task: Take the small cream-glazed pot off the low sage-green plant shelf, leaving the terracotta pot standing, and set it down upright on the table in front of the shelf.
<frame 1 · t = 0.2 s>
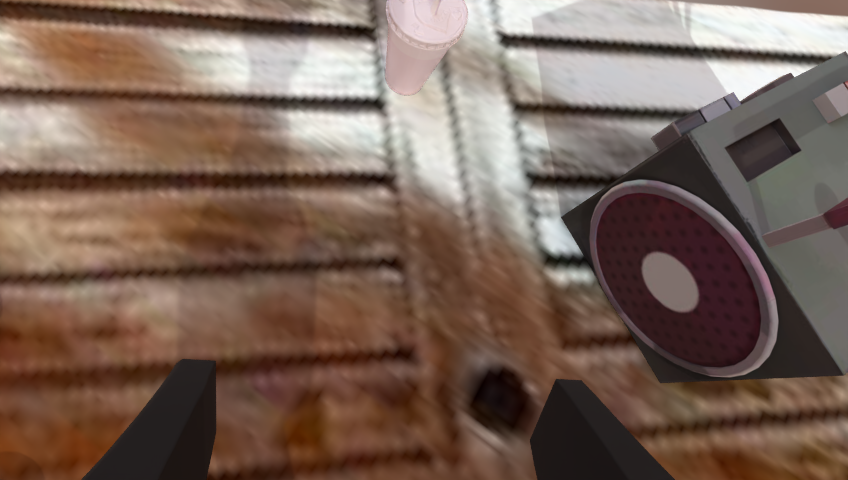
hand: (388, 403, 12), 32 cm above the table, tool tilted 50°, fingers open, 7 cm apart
boombox: (675, 262, 52), on the table
smoothie: (404, 78, 51), on the table
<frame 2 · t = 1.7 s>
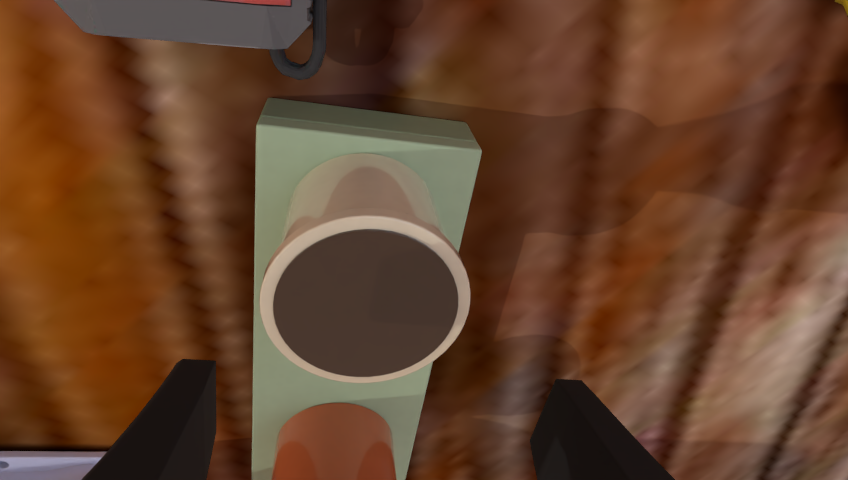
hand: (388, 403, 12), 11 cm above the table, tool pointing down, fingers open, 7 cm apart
shelf: (347, 302, 23), on the table
cream pot: (363, 222, 18), point 3 cm above the table, touching shelf
terracotta pot: (335, 442, 23), point 3 cm above the table, touching shelf
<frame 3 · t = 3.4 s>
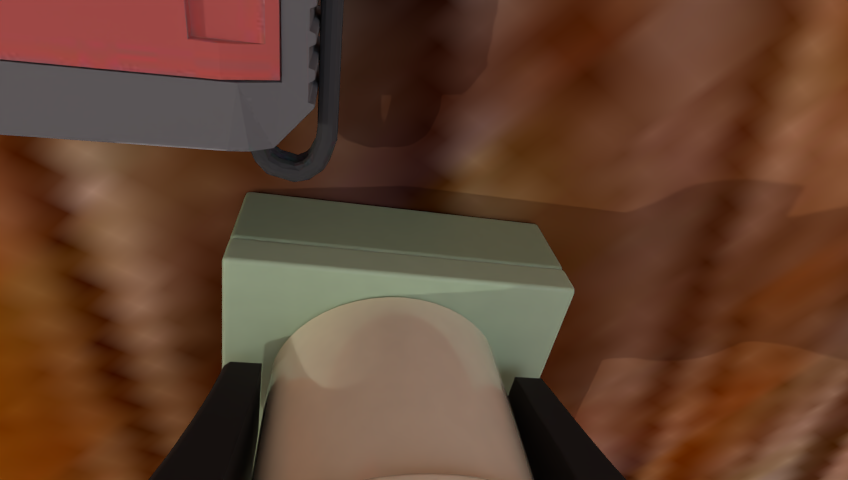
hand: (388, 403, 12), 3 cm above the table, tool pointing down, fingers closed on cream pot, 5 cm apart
shelf: (355, 443, 17), on the table
cream pot: (385, 385, 12), point 3 cm above the table, touching gripper, shelf
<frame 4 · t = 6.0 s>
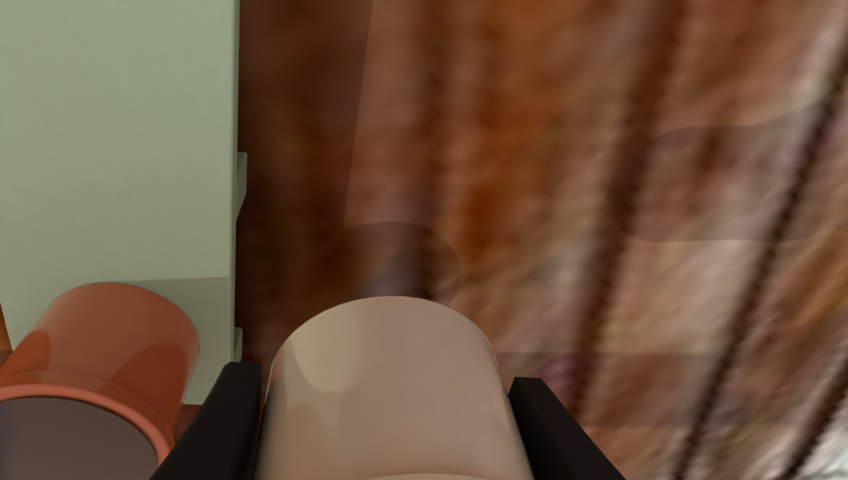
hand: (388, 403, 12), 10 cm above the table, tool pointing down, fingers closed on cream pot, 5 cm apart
shelf: (138, 160, 18), on the table
cream pot: (385, 385, 12), point 9 cm above the table, touching gripper
terracotta pot: (122, 341, 18), point 3 cm above the table, touching shelf
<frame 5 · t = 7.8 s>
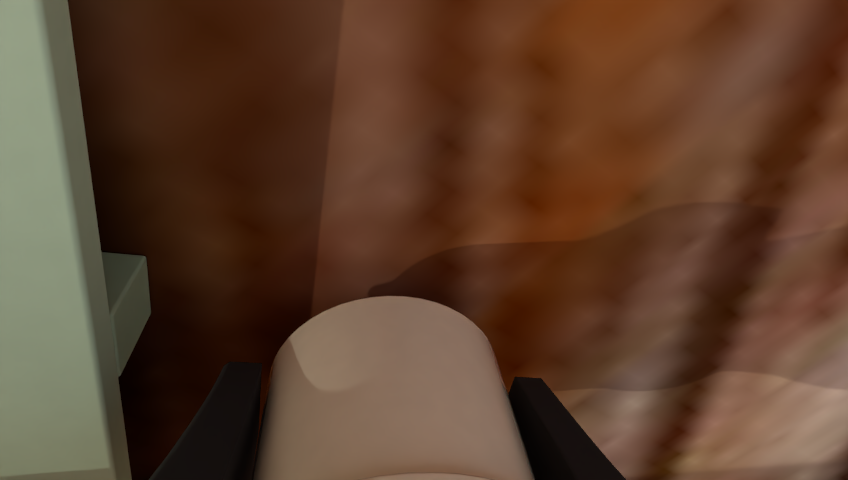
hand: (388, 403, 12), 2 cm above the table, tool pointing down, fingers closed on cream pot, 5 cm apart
cream pot: (385, 385, 12), point 2 cm above the table, touching gripper
when the fingers open (0 cm above the table, at t = 8.9 s): cream pot stays where it is, on the table.
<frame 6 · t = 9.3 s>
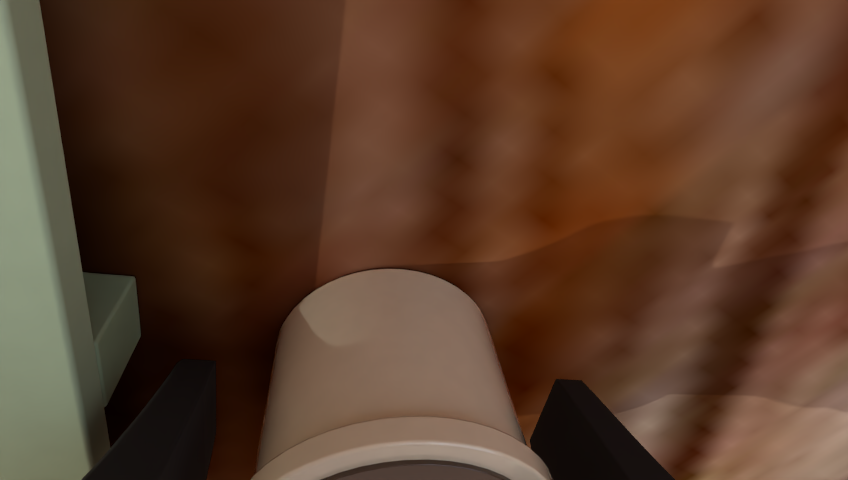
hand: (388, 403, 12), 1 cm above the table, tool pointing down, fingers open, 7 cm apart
cream pot: (385, 355, 13), on the table
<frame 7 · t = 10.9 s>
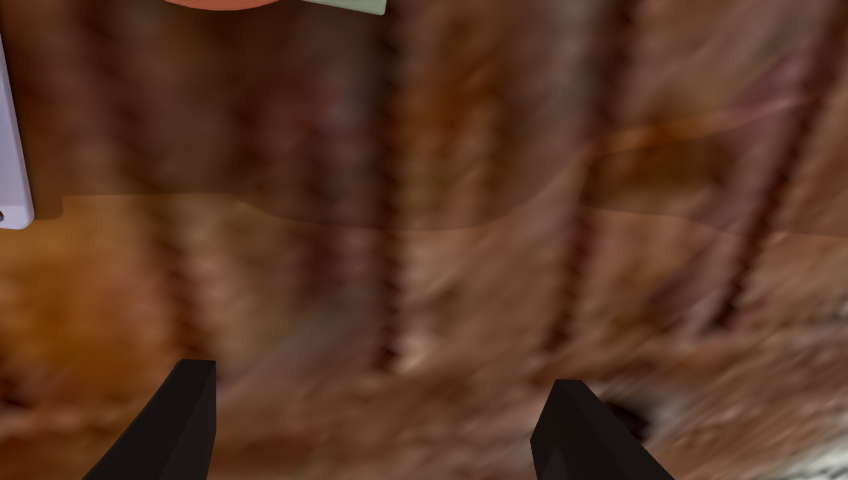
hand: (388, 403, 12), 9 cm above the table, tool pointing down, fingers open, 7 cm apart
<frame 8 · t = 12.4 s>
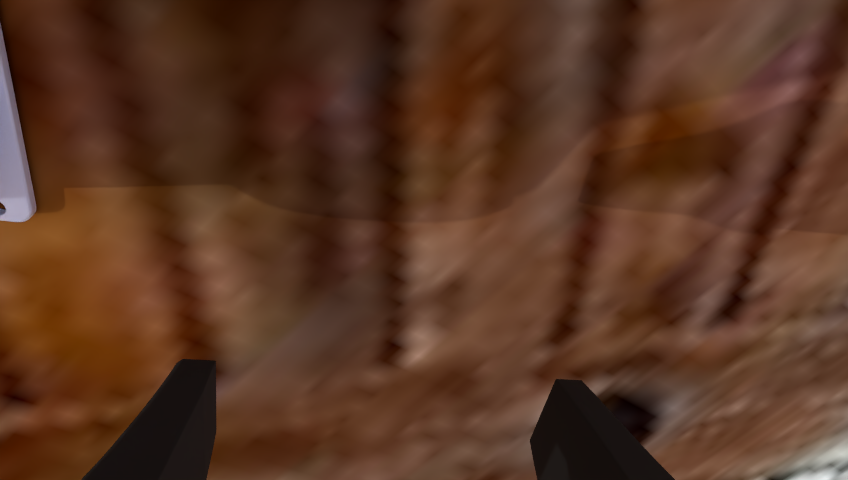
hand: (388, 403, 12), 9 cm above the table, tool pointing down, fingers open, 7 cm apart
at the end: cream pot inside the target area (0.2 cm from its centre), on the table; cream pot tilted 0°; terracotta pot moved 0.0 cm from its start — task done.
